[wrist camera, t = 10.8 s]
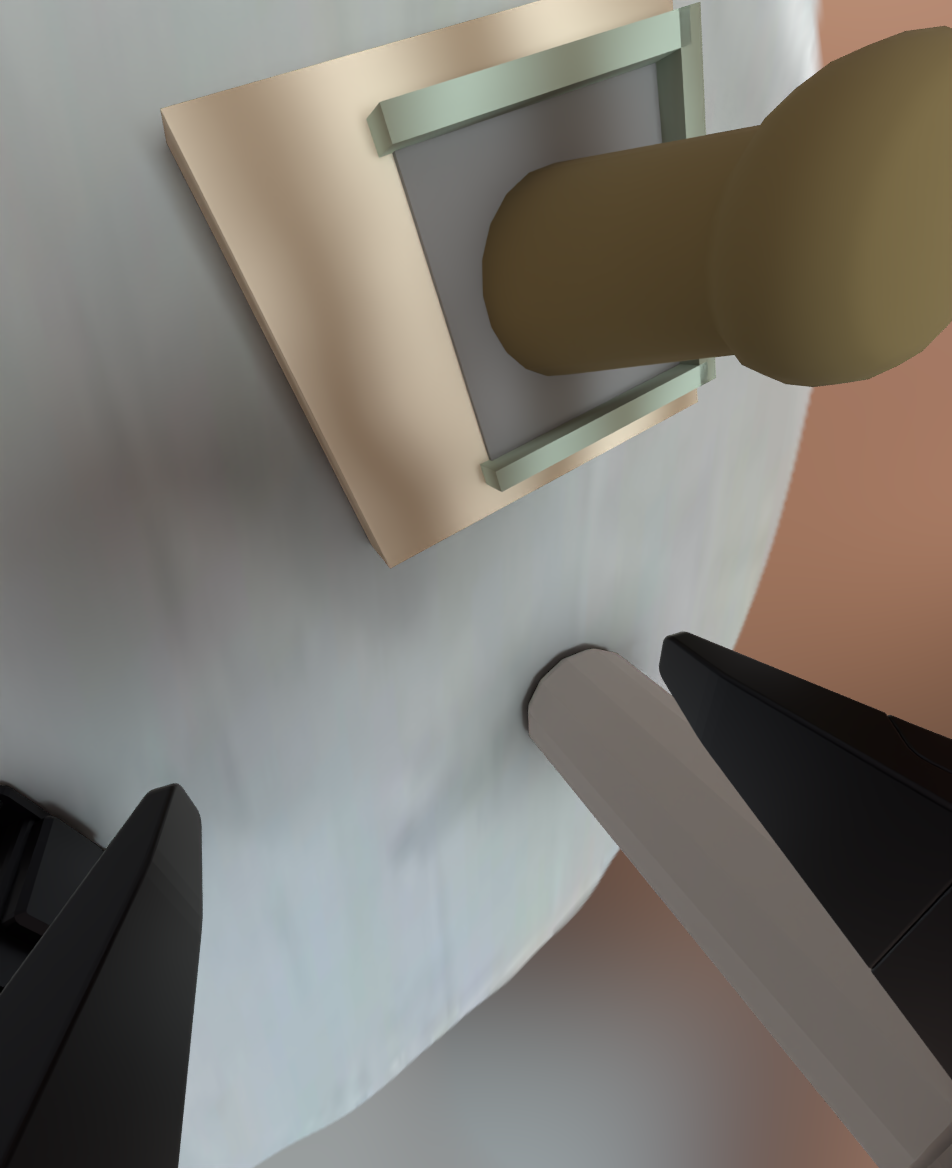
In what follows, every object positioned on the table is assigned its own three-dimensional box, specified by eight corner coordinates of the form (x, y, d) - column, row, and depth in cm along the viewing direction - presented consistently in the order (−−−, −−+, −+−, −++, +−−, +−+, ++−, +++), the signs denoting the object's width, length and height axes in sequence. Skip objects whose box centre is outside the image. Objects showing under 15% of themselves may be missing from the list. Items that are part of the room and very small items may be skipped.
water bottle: (537, 767, 31) (1136, 1544, 11) (502, 683, 27) (1377, 1708, 7) (651, 688, 33) (1333, 1229, 13) (635, 597, 29) (1617, 1201, 9)
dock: (371, 545, 21) (400, 581, 18) (166, 142, 13) (156, 88, 10) (655, 396, 24) (720, 405, 21) (613, 7, 17) (703, -63, 14)
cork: (465, 174, 14) (895, -82, 5) (633, 152, 16) (1159, -66, 7) (497, 395, 17) (804, 460, 9) (635, 355, 19) (1006, 376, 10)
